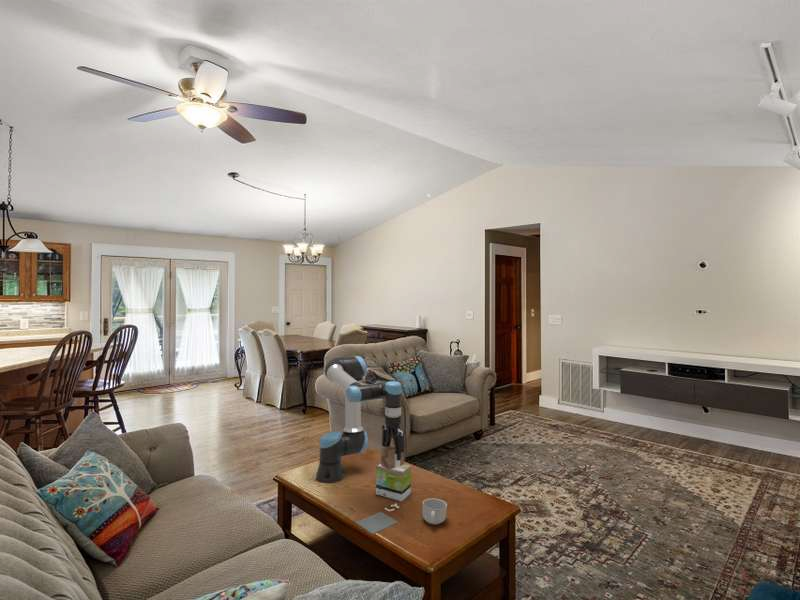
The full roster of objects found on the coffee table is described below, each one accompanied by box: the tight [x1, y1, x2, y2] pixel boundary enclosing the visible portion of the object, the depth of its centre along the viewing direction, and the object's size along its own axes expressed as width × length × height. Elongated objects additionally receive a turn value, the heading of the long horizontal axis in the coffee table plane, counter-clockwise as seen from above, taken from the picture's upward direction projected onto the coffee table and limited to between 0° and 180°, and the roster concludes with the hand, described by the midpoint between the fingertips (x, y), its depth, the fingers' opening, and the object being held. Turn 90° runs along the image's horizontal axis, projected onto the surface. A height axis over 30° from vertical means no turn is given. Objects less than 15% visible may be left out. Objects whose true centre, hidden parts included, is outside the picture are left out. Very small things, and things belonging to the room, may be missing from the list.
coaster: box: [355, 511, 399, 535], centre depth 191 cm, size 12×14×1 cm
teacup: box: [422, 497, 448, 526], centre depth 191 cm, size 14×11×8 cm
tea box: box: [375, 463, 412, 502], centre depth 218 cm, size 15×10×15 cm, turn 62°
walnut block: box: [380, 444, 405, 469], centre depth 204 cm, size 6×9×8 cm, turn 131°
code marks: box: [384, 502, 400, 512], centre depth 204 cm, size 4×8×1 cm, turn 131°
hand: (392, 464), depth 204 cm, fingers closed on walnut block, 6 cm apart
